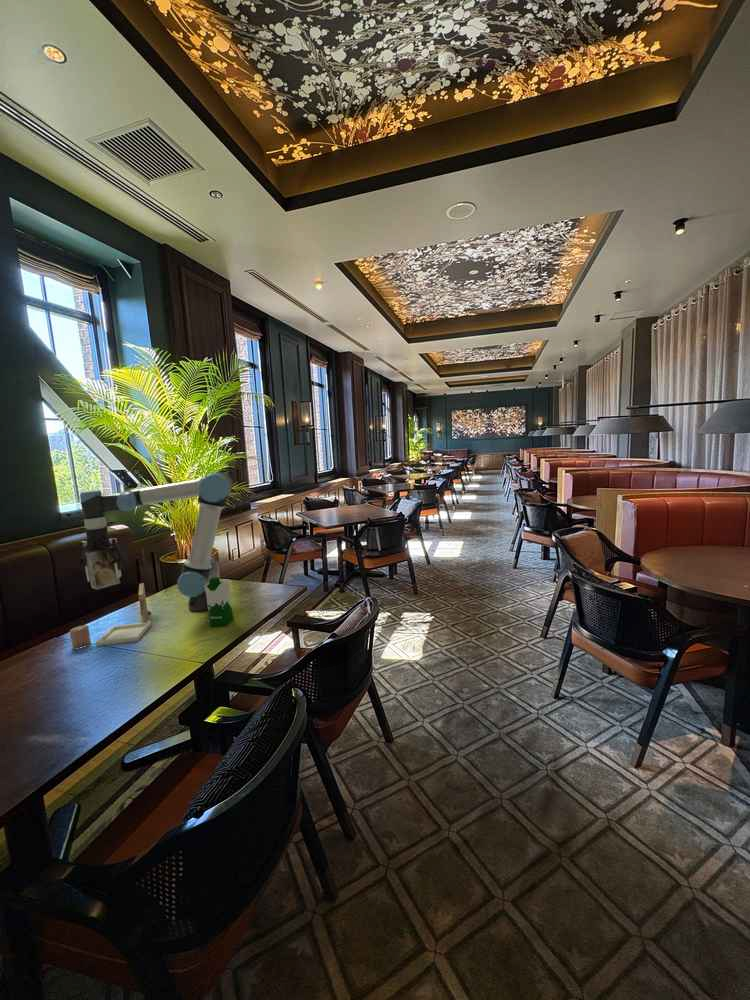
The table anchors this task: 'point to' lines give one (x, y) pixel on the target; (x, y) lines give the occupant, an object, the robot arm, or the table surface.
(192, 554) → the robot arm
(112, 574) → the coffee box
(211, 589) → the milk carton
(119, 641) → the tray
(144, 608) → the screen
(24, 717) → the table surface
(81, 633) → the brown domed capsule
